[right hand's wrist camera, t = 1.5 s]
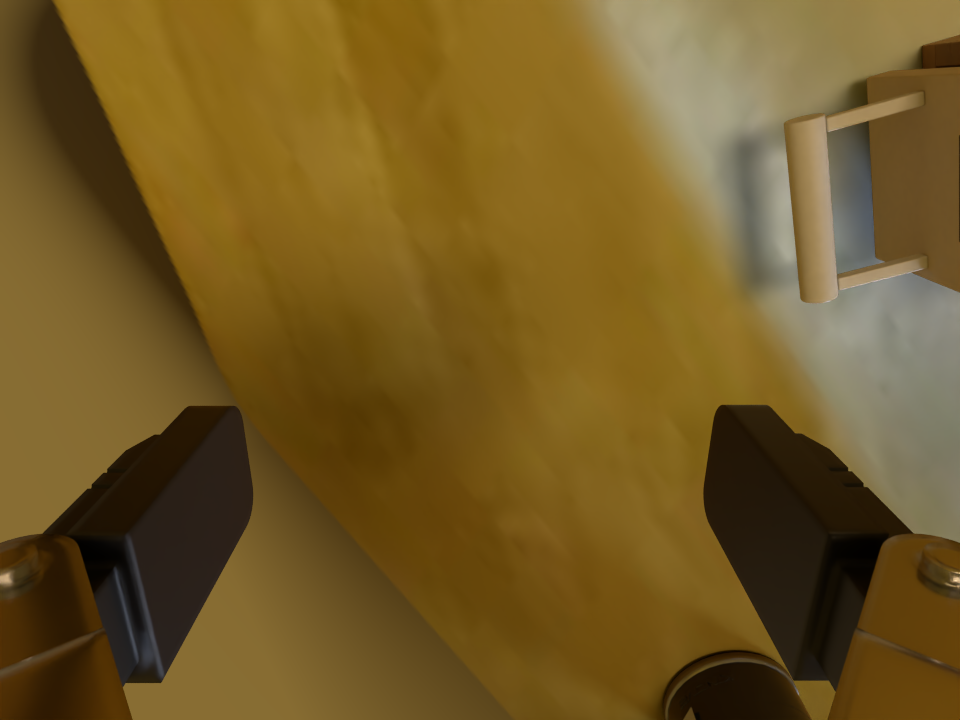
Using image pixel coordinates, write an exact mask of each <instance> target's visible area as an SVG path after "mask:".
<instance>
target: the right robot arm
mask: <svg viewBox="0 0 960 720" xmlns="http://www.w3.org/2000/svg"><path fill="white" fill-rule="evenodd" d="M252 505H253V486H252V479H251V472H250V465H249V459H248V452H247V446H246V439H245V432H244V426H243V420H242V416H241V413H240V411H239V409H238V408H237V407H236V406H188V407H187V408H185V409H184V410H183V411H182V412H181V413H180V415H179V416H178V417H177V418H176V419H175V420H174V421H173V422H172V423H171V424H170V425H169V426H168V427H167V428H166V429H165V430H164V431H163V432H162V433H161V435H153V436H151V437H150V438H148V439H146V440H144V441H142V442H140V443H139V444H137V445H135V446H133V447H131V448H130V449H128V450H126V451H125V452H124V453H123V454H122V455H121V456H120V457H119V458H118V459H117V460H116V461H115V462H114V463H113V464H112V465H111V466H110V467H109V468H108V469H107V473H103V474H102V475H101V476H100V477H99V478H98V479H97V480H96V481H95V482H94V483H93V484H92V488H91V489H87V490H86V491H85V492H84V493H83V494H82V495H81V496H80V497H79V498H78V499H77V500H76V501H75V502H74V503H73V504H72V505H71V506H70V507H69V508H68V509H67V510H66V511H65V512H64V513H63V514H62V515H61V516H60V517H59V518H58V519H57V520H56V521H55V522H54V523H53V524H52V525H51V526H50V527H49V528H48V529H47V530H46V531H45V532H44V533H43V534H35V535H28V536H23V537H19V538H15V539H11V540H8V541H5V542H2V543H0V720H132V716H131V713H130V710H129V706H128V703H127V700H126V697H125V693H124V690H123V686H124V685H125V683H161V682H162V680H163V678H164V677H165V675H166V673H167V671H168V669H169V667H170V666H171V664H172V662H173V660H174V658H175V657H176V655H177V653H178V651H179V649H180V647H181V646H182V644H183V642H184V640H185V638H186V636H187V635H188V633H189V631H190V629H191V627H192V625H193V623H194V622H195V620H196V618H197V616H198V614H199V613H200V611H201V609H202V607H203V605H204V603H205V602H206V600H207V598H208V596H209V594H210V592H211V591H212V589H213V587H214V585H215V583H216V581H217V580H218V578H219V576H220V574H221V572H222V570H223V569H224V567H225V565H226V563H227V561H228V559H229V558H230V556H231V554H232V552H233V550H234V548H235V547H236V545H237V543H238V541H239V539H240V537H241V536H242V534H243V532H244V530H245V528H246V526H247V524H248V522H249V519H250V516H251V511H252ZM704 507H705V512H706V516H707V519H708V522H709V524H710V526H711V528H712V530H713V532H714V534H715V535H716V537H717V539H718V541H719V543H720V545H721V547H722V548H723V550H724V552H725V554H726V556H727V558H728V560H729V561H730V563H731V565H732V567H733V569H734V571H735V573H736V574H737V576H738V578H739V580H740V582H741V584H742V586H743V587H744V589H745V591H746V593H747V595H748V597H749V598H750V600H751V602H752V604H753V606H754V608H755V610H756V611H757V613H758V615H759V617H760V619H761V621H762V623H763V624H764V626H765V628H766V630H767V632H768V634H769V636H770V637H771V639H772V641H773V643H774V645H775V647H776V649H777V650H778V652H779V654H780V656H781V658H782V660H783V662H784V663H785V665H786V667H787V669H788V671H789V673H790V675H791V676H792V678H793V680H829V681H830V683H831V685H832V686H833V688H834V690H835V691H836V693H835V697H834V700H833V703H832V706H831V710H830V713H829V716H828V720H960V543H958V542H955V541H952V540H949V539H945V538H942V537H937V536H932V535H925V534H914V533H913V532H912V531H911V530H910V529H909V528H908V527H907V526H906V525H905V524H904V523H903V522H902V521H901V520H900V519H899V518H898V517H897V516H896V515H895V514H894V513H893V512H892V511H891V510H890V509H889V508H888V507H887V506H886V505H885V504H884V503H883V502H882V501H881V500H880V499H879V498H878V497H877V496H876V495H875V494H874V493H873V492H872V491H871V490H870V489H869V488H868V487H864V486H863V482H862V481H861V480H860V479H859V478H858V477H857V476H856V475H855V474H854V473H853V472H852V471H848V467H847V466H846V465H845V464H844V463H843V462H842V461H841V460H840V459H839V458H838V457H837V456H836V455H835V454H834V453H833V452H832V451H831V450H830V449H828V448H826V447H825V446H823V445H821V444H819V443H817V442H816V441H814V440H812V439H810V438H808V437H807V436H805V435H803V434H795V433H794V432H793V431H792V430H791V428H790V427H789V426H788V425H787V424H786V423H785V422H784V421H783V420H782V419H781V418H780V417H779V416H778V415H777V414H776V413H775V411H774V410H773V409H772V408H771V407H769V406H768V405H721V406H719V407H718V409H717V411H716V413H715V416H714V421H713V427H712V434H711V441H710V448H709V454H708V461H707V468H706V475H705V481H704ZM790 675H789V674H788V672H787V671H786V670H785V669H784V668H783V667H782V666H781V665H780V664H778V663H777V662H775V661H773V660H771V659H769V658H767V657H764V656H761V655H758V654H753V653H745V652H732V653H723V654H718V655H714V656H711V657H708V658H705V659H703V660H700V661H698V662H696V663H694V664H692V665H691V666H689V667H688V668H686V669H685V670H684V671H682V672H681V673H680V674H679V675H678V676H677V677H676V678H675V679H674V680H673V682H672V683H671V684H670V686H669V688H668V690H667V692H666V694H665V697H664V702H663V712H664V716H665V720H812V719H811V717H810V715H809V714H808V712H807V710H806V708H805V706H804V704H803V702H802V701H801V699H800V697H799V694H798V691H797V688H796V686H795V684H794V682H793V681H792V679H791V677H790Z"/></svg>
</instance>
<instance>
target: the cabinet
mask: <svg viewBox="0 0 960 720" xmlns="http://www.w3.org/2000/svg"><path fill="white" fill-rule="evenodd" d="M922 60H923V69H931V68H949V67H960V35H958V36H954V37H951V38H947V39H944V40H940V41H937V42H933V43H930V44H926V45H923V46H922Z"/></svg>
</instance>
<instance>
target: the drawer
mask: <svg viewBox="0 0 960 720" xmlns="http://www.w3.org/2000/svg"><path fill="white" fill-rule="evenodd" d="M867 96H868V105H864V106H861V107H857V108H853V109H850V110H846V111H843V112H839V113H835V114H832V115H828V116H825V114H822V113H818V114H810V115H805V116H801V117H797V118H794V119H791V120H788V121H786V122H785V123H784V131H785V141H786V152H787V162H788V173H789V183H790V194H791V204H792V215H793V225H794V235H795V246H796V256H797V267H798V277H799V288H800V298H801V300H802V301H803V302H806V303H824V302H828V301H831V300H834V299H835V298H837V296H838V290H843V289H847V288H851V287H855V286H859V285H862V284H866V283H870V282H874V281H878V280H882V279H886V278H890V277H894V276H898V275H902V274H906V273H910V272H911V273H914V274H916V275H919V276H921V277H923V278H926V279H928V280H931V281H933V282H936V283H938V284H940V285H943V286H945V287H948V288H950V289H953V290H955V291H957V292H960V67H949V68H931V69H914V70H897V71H888V72H885V73H881V74H878V75H874V76H871V77H868V78H867ZM867 121H869V136H870V156H871V176H872V196H873V217H874V237H875V257H876V258H877V259H880V260H882V261H884V263H880V264H876V265H872V266H868V267H864V268H860V269H857V270H853V271H849V272H845V273H841V274H837V270H836V256H835V243H834V229H833V215H832V201H831V188H830V174H829V160H828V147H827V133H826V132H831V131H834V130H838V129H841V128H845V127H849V126H852V125H856V124H859V123H863V122H867Z"/></svg>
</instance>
